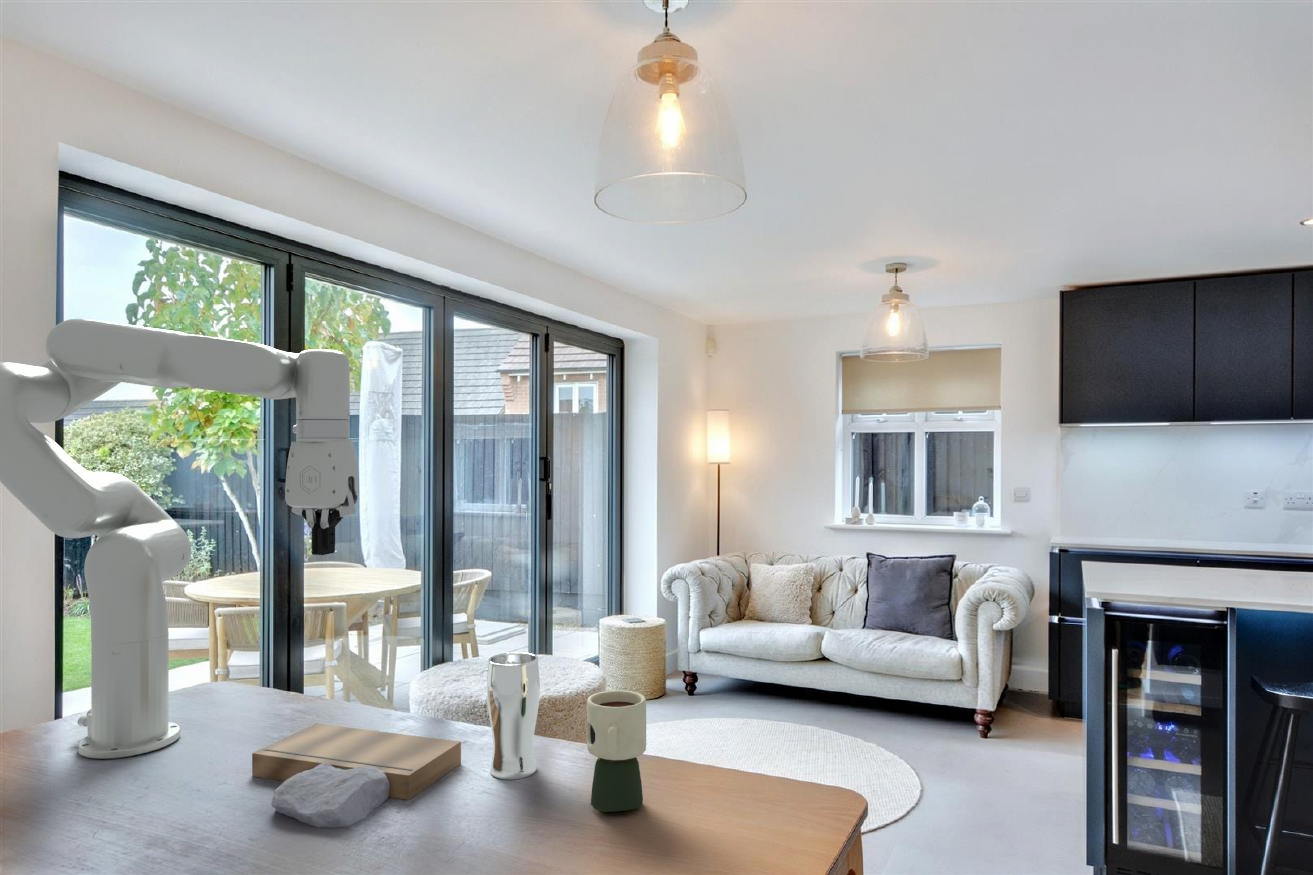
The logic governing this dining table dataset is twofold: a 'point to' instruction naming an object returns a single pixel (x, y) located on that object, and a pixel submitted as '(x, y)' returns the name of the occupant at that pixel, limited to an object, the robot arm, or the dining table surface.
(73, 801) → the dining table surface
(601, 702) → the character mug
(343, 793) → the stone block
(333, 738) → the brown wooden board
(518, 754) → the beer glass
